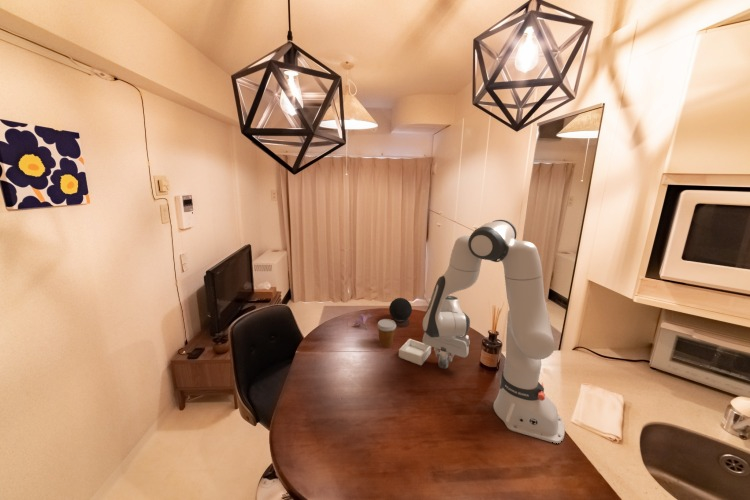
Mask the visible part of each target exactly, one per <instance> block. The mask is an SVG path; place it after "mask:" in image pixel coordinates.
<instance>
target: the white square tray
mask: <svg viewBox="0 0 750 500" xmlns="http://www.w3.org/2000/svg"><path fill="white" fill-rule="evenodd" d="M431 353H432V347H431V346H428V345H425V344H424V343H423V342H421V341H418V340H415V339H412V338H408V339H407V341H406V342H405V343H404V344H403V345H401V347H400V348H398V358H400V359H403V360H405V361H408V362H411V363H414V364H415V365H416V364H417V365H418V366H422V365H423V364H424V363H425V361H427V359H428V358H429V357H430V355H431Z"/></svg>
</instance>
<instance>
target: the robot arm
mask: <svg viewBox="0 0 750 500" xmlns="http://www.w3.org/2000/svg"><path fill="white" fill-rule="evenodd" d="M516 238H517V229H516V226H514V224H513V223H511V222H510V221H508V220H505V219H496V220H493V221H491V222H487V223H485V224H483V225H482V226H481V225H480V227H478V228H476V229H475V230H474V231H473V232H472V233H471V234H470V235H462V236H460V237H458V238H457V239H456V240H455V242H454V244H453V246H452V250H451V254H450V259H449V265H448V267H447V270H446V271H445V273H444V274H442V275H441V276H439V277H438V279H437V280H436V283H435V286H434V289H433V291H432V295H431V298H430V301H429V304H428V307H427V309H426V311H425V313H424V314H423V318H422V329H423V337H422V343H424V344H425V345H428V346H431V348H433V351H434V353H435V357H436V358H439V350H440V349H441V347H443V348H446V352H449V354H450V355H449V357H448V361H449V362H453V358H454V357H455V356H458V357H461V358H466V357H468V355H469V350H470V348H469V346H470V344H471V340H470V338H469V339H468V338H467V337H466V336H463V335H465V334H467V335H468V333H469V331H470V328H471V327H470V326H471V322H470V321H471V320H470V317H469V315H467V314H466V313H465V312H464V311H463V310H462V309H461V306H460V299H459V298H458V297H457V296H452V294H454V293H457V292H459V291H463V290H464V291H465V290H466V289H469V288H471V287H472V286H474V285H475V283H477V281H478V279H479V275H480V272H481V265H482V260H485V261H491V262H494V263H499V262H502V265H503V271H504V272H503V274H504V280H505V281H504V282H505V284H504V285H505V290H506V291H505V292H506V299H507V300H506V301H507V303H508V308H509V309H508V311H507V315H506V317H507V318H506V320H507V322H506V336H505V338H506V342H505V359H504V366H503V367H504V368H503V370H502V373H501V375H500V381H499V392H498V394H497V397H496V398H495V400H494V402H493V405H492V407H493V410H494V413H495V414H496V415H497V416H498V418H499V419H500V420H502V421H503V423H504V424H505V426H506V427H507V429H508V430H510V431H512V432H515V433H519V434H523V435H525V436H526V435H527V436H529V437H532V438H537V439H539V440H543V441H546V442H549V443H552V442H553V444H556V443H557V444H558V443H559V444H561V443H562V442H563V441H564V438H565V433H566V432H565V423H564V421H563V418H562V417H561V416H560V415H559V413H558V409H557V406H556V405H555V403H554V401H552V400H551V398H549V397H548V396H546V394H545V393H544V392H545V388H544V383H543V382H541V383H540V382H539V380H540V376H541V369H542V360H544V359H547V358H549V357H550V356H551V355H552V354H553V353H554V351H555V339H554V336H553V332H552V325H551V321H550V316H549V310H548V306H547V301H546V297H545V296H546V295H545V288H544V287H545V285H544V274H543V267H542V261H541V257H540V253H539V251H538V247H537V246H536V245H535V244H534V243H533V242H530V241H527V240H517V239H516ZM561 441H562V442H561Z"/></svg>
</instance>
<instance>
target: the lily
mask: <svg viewBox="0 0 750 500" xmlns="http://www.w3.org/2000/svg"><path fill="white" fill-rule="evenodd" d="M371 317H373V315H371V313H368V314H366V315H365V314H362V313H361V314H359V315H358V318H357V319H356V320H354V321H353V322H352V324H353V327H354V326H357V325H358V324H363V325H364V328H365V329H367V327H366V321H367V320H368V319H370V318H371Z"/></svg>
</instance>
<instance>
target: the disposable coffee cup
mask: <svg viewBox="0 0 750 500" xmlns="http://www.w3.org/2000/svg"><path fill="white" fill-rule="evenodd" d="M376 326H377V328H378V329H377V330H378V340H379V346H380V347H381V348H384V349H390V348H391V347H392V346H393V343H394V339H395V338H394V336H395V331H396V329H397V327H396V324H395V322H394V321H393V320H391V319H389V318H383V319H380V320H379V321H378V322H377V325H376Z"/></svg>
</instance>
